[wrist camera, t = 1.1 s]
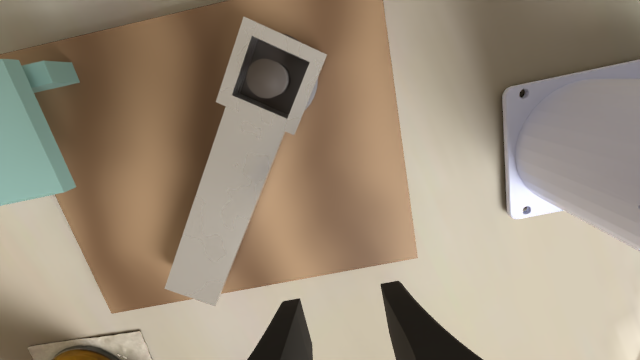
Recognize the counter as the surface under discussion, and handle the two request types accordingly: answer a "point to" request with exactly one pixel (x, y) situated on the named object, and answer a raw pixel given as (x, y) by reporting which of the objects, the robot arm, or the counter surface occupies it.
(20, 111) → the keeper
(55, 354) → the condiment
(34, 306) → the counter surface
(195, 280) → the link
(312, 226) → the board
